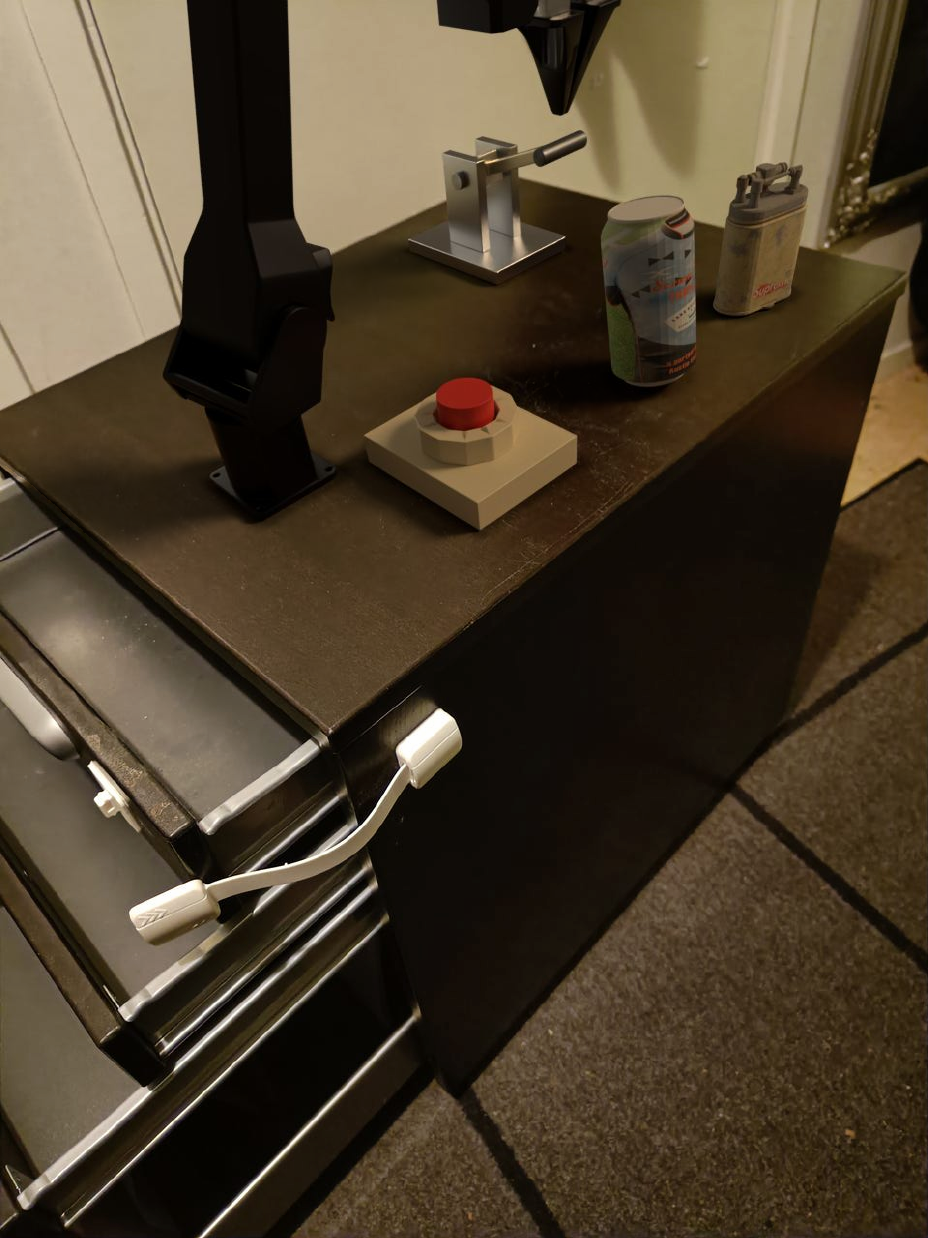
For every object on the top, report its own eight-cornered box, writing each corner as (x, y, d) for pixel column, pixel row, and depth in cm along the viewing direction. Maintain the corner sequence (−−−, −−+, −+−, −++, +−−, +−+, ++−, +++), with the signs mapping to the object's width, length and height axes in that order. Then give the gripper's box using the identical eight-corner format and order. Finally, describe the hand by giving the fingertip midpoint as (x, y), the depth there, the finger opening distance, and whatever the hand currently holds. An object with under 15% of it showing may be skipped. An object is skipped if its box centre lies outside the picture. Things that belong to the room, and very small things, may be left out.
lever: (590, 153, 67) (583, 120, 66) (548, 172, 65) (540, 139, 64) (494, 178, 76) (487, 150, 75) (455, 196, 74) (446, 167, 73)
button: (506, 414, 53) (504, 390, 52) (465, 439, 52) (463, 415, 51) (467, 394, 55) (465, 371, 54) (427, 418, 54) (424, 395, 52)
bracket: (565, 249, 77) (566, 145, 71) (497, 285, 74) (491, 179, 67) (476, 219, 84) (469, 121, 77) (409, 251, 80) (396, 151, 74)
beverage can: (669, 407, 59) (687, 233, 50) (579, 379, 62) (582, 213, 53) (709, 365, 62) (733, 195, 53) (622, 342, 65) (631, 178, 56)
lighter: (767, 279, 70) (791, 149, 63) (802, 295, 68) (831, 162, 60) (703, 306, 68) (720, 175, 61) (737, 323, 66) (759, 189, 58)
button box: (577, 463, 55) (577, 411, 52) (479, 531, 51) (475, 479, 48) (463, 404, 61) (458, 355, 58) (368, 461, 57) (358, 411, 54)
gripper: (563, -179, 61) (563, 68, 73) (367, -139, 53) (401, 131, 65) (689, -184, 55) (667, 86, 67) (488, -139, 47) (503, 158, 59)
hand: (559, 113), depth 64 cm, fingers closed
